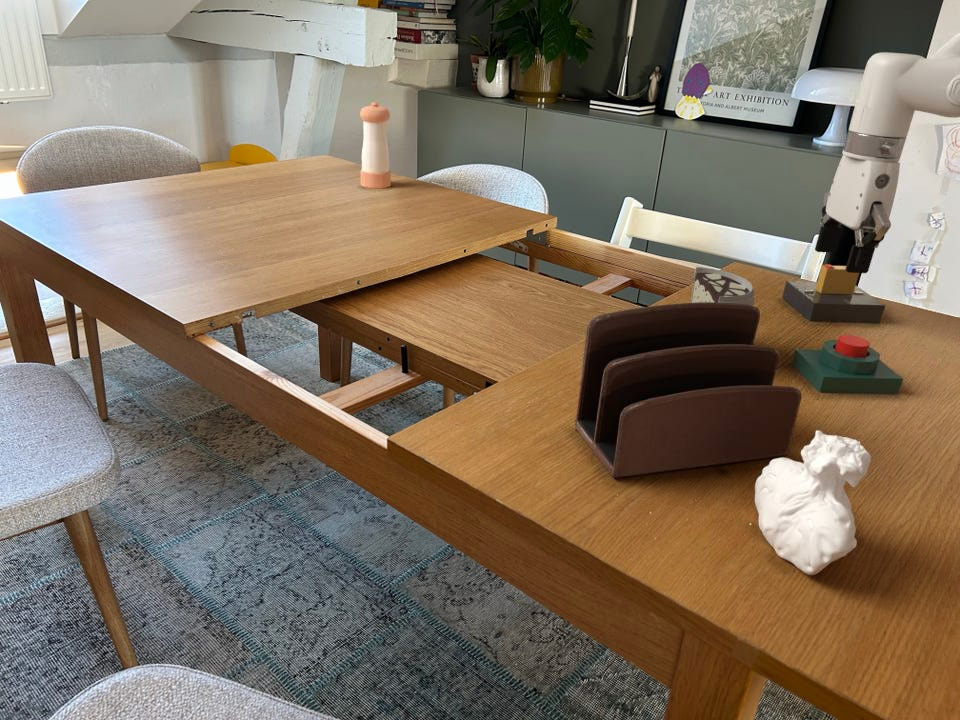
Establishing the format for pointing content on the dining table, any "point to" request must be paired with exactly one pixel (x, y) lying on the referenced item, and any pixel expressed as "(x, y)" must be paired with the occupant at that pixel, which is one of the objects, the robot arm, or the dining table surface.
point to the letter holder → (681, 389)
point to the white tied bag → (811, 502)
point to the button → (852, 346)
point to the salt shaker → (375, 147)
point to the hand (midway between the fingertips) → (839, 261)
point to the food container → (721, 287)
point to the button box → (846, 371)
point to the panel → (832, 304)
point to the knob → (836, 280)
